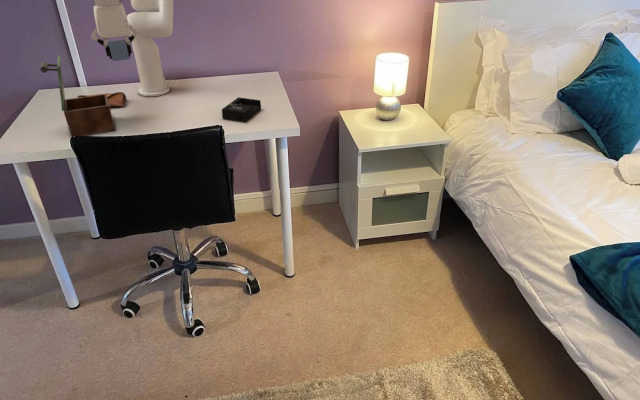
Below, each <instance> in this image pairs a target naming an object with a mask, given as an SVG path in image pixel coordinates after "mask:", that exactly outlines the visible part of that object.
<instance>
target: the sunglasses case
mask: <svg viewBox="0 0 640 400" xmlns="http://www.w3.org/2000/svg"><path fill="white" fill-rule="evenodd" d="M101 94H102V93H97V94H95V95H101ZM106 94H107V97H108V101H109V105H110V109H115V108H121V107H125V106H126V105H127V97H126V94H125V93H124V92H122V91H117V92H112V93H106ZM93 95H94V94H88V95H86V94H85V95H83V94H80V95H78V96H77V97H76V98H79V97H86V96H93Z"/></svg>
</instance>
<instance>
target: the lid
mask: <svg viewBox="0 0 640 400" xmlns="http://www.w3.org/2000/svg"><path fill="white" fill-rule="evenodd" d="M54 67H55V68H54ZM40 71H41V73H47V72H57V75H58V87H59V94H60V95H59V96H60V105H61V112H64V111H65V99H66V93H65V84H64V83H65V82H64V75H63V65H62V56H61V55H57V63H49V62H47V61H42V62H41V64H40Z"/></svg>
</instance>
